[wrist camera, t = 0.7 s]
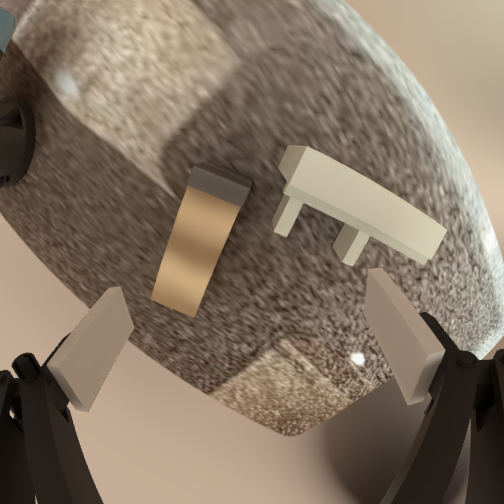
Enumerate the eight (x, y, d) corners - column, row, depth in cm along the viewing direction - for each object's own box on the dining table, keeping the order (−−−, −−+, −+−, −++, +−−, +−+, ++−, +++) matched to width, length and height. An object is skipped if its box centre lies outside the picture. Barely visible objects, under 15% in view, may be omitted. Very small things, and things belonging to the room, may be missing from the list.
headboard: (256, 212, 35) (254, 257, 22) (288, 144, 31) (307, 146, 18) (354, 256, 36) (395, 315, 23) (386, 196, 33) (447, 230, 20)
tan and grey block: (205, 289, 39) (195, 319, 32) (166, 272, 38) (148, 299, 31) (252, 179, 33) (250, 189, 26) (207, 160, 32) (193, 165, 26)
